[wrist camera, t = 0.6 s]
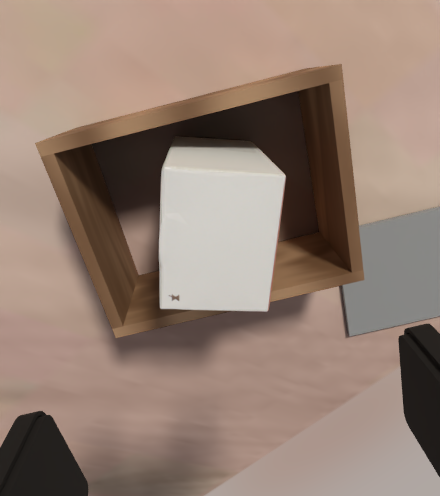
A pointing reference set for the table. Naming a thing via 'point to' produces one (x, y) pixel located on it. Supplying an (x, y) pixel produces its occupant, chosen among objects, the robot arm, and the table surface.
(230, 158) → the small box
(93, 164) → the wooden cubby frame
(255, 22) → the table surface
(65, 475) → the robot arm
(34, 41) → the table surface
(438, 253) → the pad
